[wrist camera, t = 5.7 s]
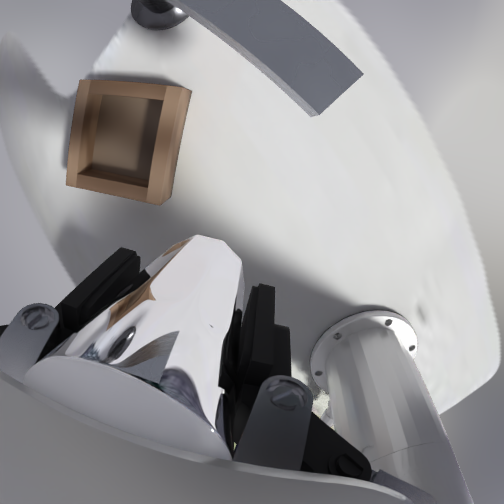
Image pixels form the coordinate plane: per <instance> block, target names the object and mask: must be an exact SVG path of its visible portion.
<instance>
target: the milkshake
mask: <svg viewBox="0 0 504 504" xmlns="http://www.w3.org/2000/svg"><path fill="white" fill-rule="evenodd" d="M244 287H245V284H244V276H243V268H242V260H241V259H240V258H239V257H238V256H237V255H236V254H235V253H234V252H233V251H232V250H231V249H230V247H229V246H228V245H227V244H226V243H225V242H224V241H222V240H218V239H214V238H210V237H205V236H201V235H195V236H192V237H190V238H187V239H185V240H183V241H180V242H178V243H176V244H174V245H172V246H171V247H170V248H169V249H167V250H166V251H165V252H164V253H163V254H161V255H160V256H159V257H158V258H157V259H155V260H154V261H153V262H152V263H151V264H150V265H148V266H147V267H146V268H145V269H144V270H143V271H141V272H140V273H139V274H138V275H137V276H136V277H135V278H133V279H132V280H131V281H130V282H129V283H128V284H127V285H125V286H124V287H123V288H122V289H121V290H120V291H119V292H118V293H117V294H115V295H114V296H113V297H112V298H111V299H110V300H109V301H108V302H107V303H106V304H104V305H103V306H102V307H101V308H100V309H99V310H97V311H96V312H95V313H94V314H93V315H92V316H90V317H89V318H88V319H87V320H86V321H84V322H83V323H82V324H81V325H80V326H79V327H77V328H76V329H75V330H74V331H73V332H72V333H71V334H69V335H68V336H67V337H66V338H65V339H64V340H62V341H61V342H60V343H59V344H58V345H57V346H56V347H55V348H53V349H52V350H51V351H50V352H49V353H48V354H47V355H46V356H44V357H43V358H42V359H41V360H40V361H39V362H38V363H36V364H35V365H33V366H32V367H31V368H30V369H29V370H28V372H27V373H26V375H25V377H24V379H23V384H24V385H26V386H28V387H29V388H31V389H33V390H35V391H37V392H39V393H40V394H42V395H44V396H46V397H48V398H50V399H52V400H54V401H56V402H58V403H60V404H62V405H64V406H66V407H68V408H70V409H72V410H75V411H77V412H79V413H81V414H83V415H86V416H88V417H90V418H93V419H95V420H97V421H100V422H102V423H105V424H107V425H110V426H112V427H115V428H117V429H120V430H123V431H125V432H128V433H131V434H134V435H137V436H140V437H143V438H146V439H149V440H152V441H155V442H158V443H161V444H165V445H168V446H171V447H175V448H179V449H182V450H186V451H190V452H194V453H198V454H202V455H206V456H210V457H215V458H220V459H224V460H229V461H232V459H233V454H234V429H235V405H236V375H237V363H238V354H239V343H240V332H241V320H242V309H243V298H244Z"/></svg>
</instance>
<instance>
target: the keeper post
mask: <svg viewBox="0 0 504 504" xmlns="http://www.w3.org/2000/svg"><path fill="white" fill-rule="evenodd" d="M131 13H132V16H133V18H134V20H135V21H136V22H137V23H138V24H140V25H141V26H143V27H145V28H147V29H151V30H164V29H168V28H171V27H174V26H176V25H178V24H180V23H181V22H183V21H184V20H185V19H186V18H187V17H188V15H187V14H186V13H184V12H183V11H181V10H180V9H178V8H177V7H175V6H173V5H172V4H170V3H169V2H167V1H166V0H132V4H131Z"/></svg>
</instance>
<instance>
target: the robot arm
mask: <svg viewBox="0 0 504 504" xmlns="http://www.w3.org/2000/svg"><path fill="white" fill-rule="evenodd" d="M139 271H140V256H137V254H136V251H133V250H129V249H126V248H122V247H121V248H120V249H118V250H117V251H116V252H115V253H114V254H113V255H111V256H110V257H109V258H108V259H107V260H106V261H105V262H103V263H102V264H101V265H100V266H99V267H98V268H97V269H96V270H95V271H93V272H92V273H91V274H90V275H89V276H88V277H87V278H86V279H85V280H84V281H82V282H81V283H80V284H79V285H78V286H77V287H76V288H75V289H74V290H73V291H72V292H71V293H70V294H69V295H67V296H66V297H65V298H64V299H63V300H62V301H61V302H60V303H59V304H58V305H57V306H56V307H55V308H53V307H52V306H50V305H47V304H42V303H36V304H31V305H27V306H26V307H24V308H22V309H21V310H20V311H19V312H18V313H17V315H16V316H15V317H14V319H13V320H12V321H11V323H10V324H9V325H3V326H0V504H474V503H473V500H472V498H471V496H470V493H469V490H468V488H467V485H466V483H465V480H464V478H463V475H462V473H461V470H460V468H459V465H458V462H457V460H456V457H455V454H454V452H453V449H452V446H451V444H450V441H449V439H448V436H447V434H446V431H445V429H444V426H443V424H442V421H441V419H440V417H439V414H438V412H437V410H436V407H435V405H434V403H433V401H432V398H431V396H430V394H429V392H428V389H427V387H426V385H425V383H424V381H423V378H422V376H421V374H420V372H419V370H418V368H417V366H416V364H415V362H414V359H415V356H416V353H417V348H418V340H417V335H416V333H415V331H414V329H413V327H412V326H411V324H410V323H409V322H408V321H407V320H406V319H405V318H404V317H402V316H400V315H398V314H396V313H393V312H389V311H380V310H375V311H366V312H362V313H358V314H355V315H352V316H350V317H348V318H345V319H343V320H341V321H340V322H338V323H337V324H335V325H333V326H332V327H331V328H330V329H329V330H327V331H326V332H325V333H324V334H323V335H322V336H321V338H320V339H319V340H318V342H317V343H316V345H315V347H314V348H313V351H312V354H311V360H310V366H311V373H312V376H313V379H314V381H315V382H316V384H317V385H318V386H319V387H320V388H321V389H322V390H324V391H326V392H328V393H329V398H330V400H329V401H328V408H327V409H326V410H325V412H324V413H323V415H322V416H321V418H319V417H317V416H316V415H315V414H314V413H313V412H312V405H313V396H312V393H311V391H310V389H309V388H308V387H307V386H306V385H305V384H304V383H302V382H301V381H300V380H298V379H295V378H293V377H291V351H290V330H289V327H285V326H281V325H276V324H274V314H275V287H273V286H269V285H265V284H260V283H259V286H258V287H256V286H252V289H251V293H250V296H249V300H248V304H247V307H246V311H245V315H244V318H243V322H242V325H241V332H240V343H239V354H238V363H237V375H236V405H235V429H234V442H235V443H236V444H237V445H236V447H235V449H234V454H233V459H232V461H229V460H224V459H220V458H215V457H210V456H206V455H202V454H198V453H194V452H190V451H186V450H182V449H179V448H175V447H171V446H168V445H165V444H161V443H158V442H155V441H152V440H149V439H146V438H143V437H140V436H137V435H134V434H131V433H128V432H125V431H123V430H120V429H117V428H115V427H112V426H110V425H107V424H105V423H102V422H100V421H97V420H95V419H93V418H90V417H88V416H86V415H83V414H81V413H79V412H77V411H75V410H72V409H70V408H68V407H66V406H64V405H62V404H60V403H58V402H56V401H54V400H52V399H50V398H48V397H46V396H44V395H42V394H40V393H39V392H37V391H35V390H33V389H31V388H29V387H28V386H26V385H24V384H23V379H24V377H25V375H26V373H27V372H28V370H29V369H30V368H31V367H32V366H33V365H35V364H36V363H38V362H39V361H40V360H41V359H42V358H43V357H44V356H46V355H47V354H48V353H49V352H50V351H51V350H52V349H53V348H55V347H56V346H57V345H58V344H59V343H60V342H61V341H62V340H64V339H65V338H66V337H67V336H68V335H69V334H71V333H72V332H73V331H74V330H75V329H76V328H77V327H79V326H80V325H81V324H82V323H83V322H84V321H86V320H87V319H88V318H89V317H90V316H92V315H93V314H94V313H95V312H96V311H97V310H99V309H100V308H101V307H102V306H103V305H104V304H106V303H107V302H108V301H109V300H110V299H111V298H112V297H113V296H114V295H115V294H117V293H118V292H119V291H120V290H121V289H122V288H123V287H124V286H125V285H127V284H128V283H129V282H130V281H131V280H132V279H133V278H135V277H136V276H137V275H138V274H139ZM333 424H334V429H335V431H334V430H333V429H332V428H331V426H333Z"/></svg>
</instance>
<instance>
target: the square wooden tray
mask: <svg viewBox="0 0 504 504" xmlns="http://www.w3.org/2000/svg"><path fill="white" fill-rule="evenodd" d="M191 94H192V91H190V90H188V89H185V88H183V87H176V86H168V85H160V84H150V83H139V82H126V81H109V80H80V81H79V86H78V91H77V96H76V102H75V107H74V114H73V120H72V127H71V135H70V143H69V152H68V162H67V175H66V185H67V186H71V187H76V188H81V189H86V190H91V191H95V192H100V193H105V194H109V195H114V196H119V197H123V198H128V199H132V200H137V201H142V202H146V203H150V204H155V205H159V206H160V205H161V204H162V203H164V202H165V201H166V200H168V199H169V198H170V197H171V194H172V188H173V182H174V176H175V170H176V165H177V160H178V154H179V149H180V144H181V139H182V134H183V129H184V125H185V120H186V115H187V111H188V106H189V102H190V98H191Z"/></svg>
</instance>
